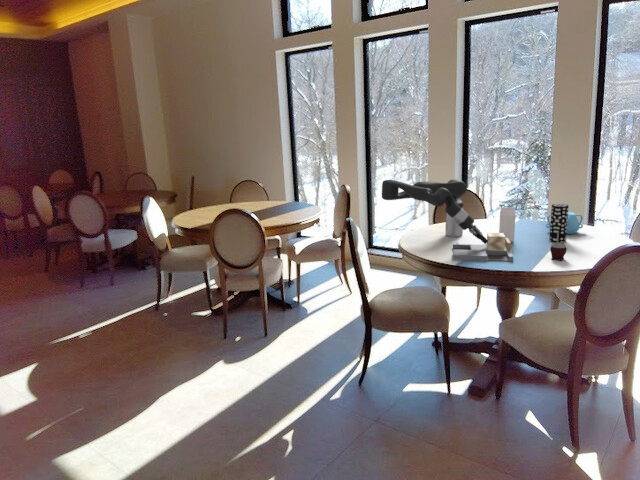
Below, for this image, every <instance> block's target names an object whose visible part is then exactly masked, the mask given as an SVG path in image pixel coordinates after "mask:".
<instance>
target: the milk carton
mask: <svg viewBox="0 0 640 480" xmlns="http://www.w3.org/2000/svg"><path fill="white" fill-rule="evenodd" d="M515 227H516V210H515V206H513V207H512V206H511V207H510V206H509V207H507V206H504V207H503V206H502V207H500V213H499V227H498V228H499V229H498V230H499V231H498V233H504V235H505V238H508V239H509V241H510V243H511V242H515Z"/></svg>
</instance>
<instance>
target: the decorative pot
mask: <svg viewBox="0 0 640 480" xmlns="http://www.w3.org/2000/svg"><path fill="white" fill-rule="evenodd" d="M577 216H578V217H580V220H579V219H578V217H577ZM550 218H551V213H550V214H548V215H547V218H546V220H547V223H546V224H545V227H546V228H547V229H550V223H551V220H550ZM583 219H584V217H583V215H582V214H580V213H575V212H572V211H569V209H568V219H567V232H566V234H568V235H574V234H575V233H578V232H579V230H581V229H583V227H584V225H583V224H582V222H583Z"/></svg>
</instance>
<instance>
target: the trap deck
mask: <svg viewBox="0 0 640 480" xmlns="http://www.w3.org/2000/svg"><path fill="white" fill-rule="evenodd" d="M511 244H512V243H511V242H510V241H509V239H508V238H505V250H488V248H487V244H468V243H467V244H464V243H462V244H461V243H453V244H452V258H453V259H452V260H453V261H472V260H473V261H477V262H478V261H482V262H483V261H484V262H513V261H514V256H513V254H512V251H511V246H512V245H511Z"/></svg>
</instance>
